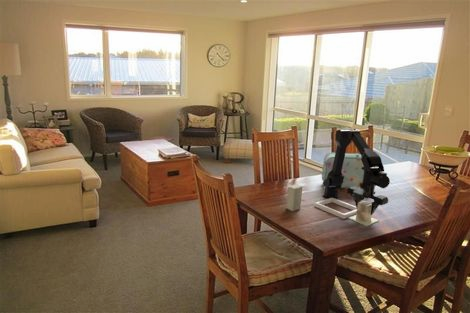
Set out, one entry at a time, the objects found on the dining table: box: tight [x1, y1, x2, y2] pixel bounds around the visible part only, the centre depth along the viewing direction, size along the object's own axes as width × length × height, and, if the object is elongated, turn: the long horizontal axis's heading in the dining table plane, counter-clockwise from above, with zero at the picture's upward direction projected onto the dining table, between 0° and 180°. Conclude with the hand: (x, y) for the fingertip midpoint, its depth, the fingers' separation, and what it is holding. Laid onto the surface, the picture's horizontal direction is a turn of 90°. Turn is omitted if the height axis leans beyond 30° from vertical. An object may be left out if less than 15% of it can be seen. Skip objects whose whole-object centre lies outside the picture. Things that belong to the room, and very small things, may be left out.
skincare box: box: [286, 183, 303, 212], centre depth 181 cm, size 6×4×12 cm
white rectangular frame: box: [314, 198, 357, 220], centre depth 184 cm, size 18×14×2 cm
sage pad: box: [347, 215, 380, 227], centre depth 172 cm, size 10×10×1 cm
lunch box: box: [321, 152, 364, 189], centre depth 217 cm, size 27×10×21 cm, turn 89°
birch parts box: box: [356, 200, 373, 222], centre depth 171 cm, size 5×5×8 cm
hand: (364, 212), depth 171 cm, fingers open, 7 cm apart
